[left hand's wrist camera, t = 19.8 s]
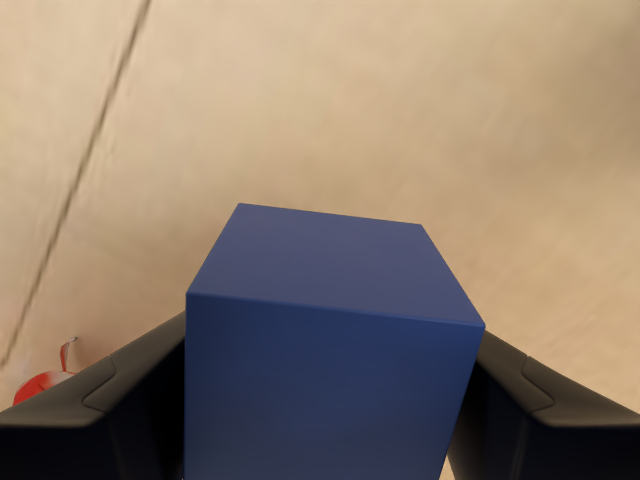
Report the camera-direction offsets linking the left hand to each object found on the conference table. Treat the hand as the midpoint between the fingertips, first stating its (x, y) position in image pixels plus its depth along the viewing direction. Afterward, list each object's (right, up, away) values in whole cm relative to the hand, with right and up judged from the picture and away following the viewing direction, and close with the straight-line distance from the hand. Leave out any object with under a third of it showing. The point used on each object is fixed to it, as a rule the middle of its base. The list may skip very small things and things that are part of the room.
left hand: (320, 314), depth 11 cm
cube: (0, 0, +1) cm, 1 cm away
